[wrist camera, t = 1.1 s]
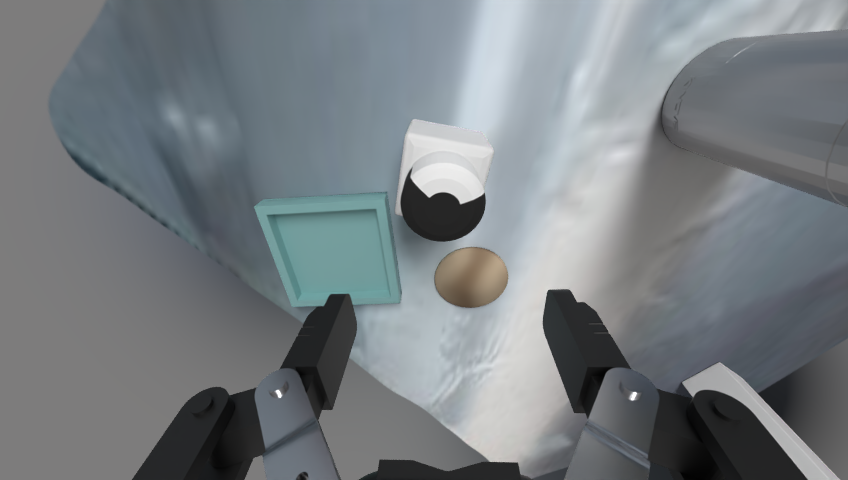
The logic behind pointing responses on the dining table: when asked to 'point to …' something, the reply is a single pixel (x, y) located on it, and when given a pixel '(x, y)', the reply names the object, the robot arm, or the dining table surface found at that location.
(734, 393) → the milk
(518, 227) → the dining table surface
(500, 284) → the cork coaster
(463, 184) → the medicine bottle
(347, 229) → the tray
